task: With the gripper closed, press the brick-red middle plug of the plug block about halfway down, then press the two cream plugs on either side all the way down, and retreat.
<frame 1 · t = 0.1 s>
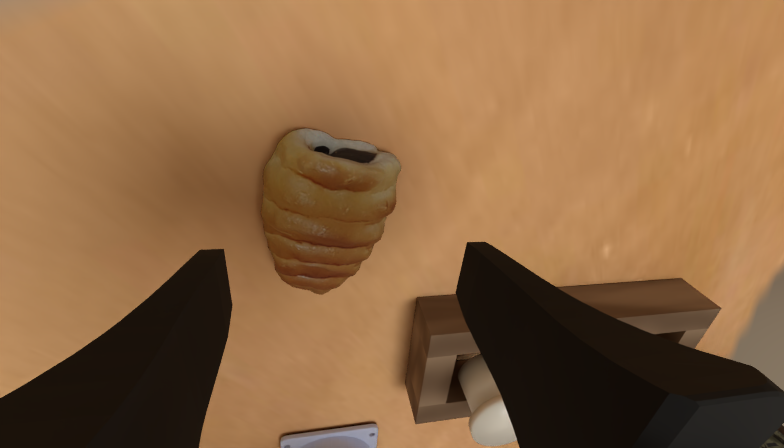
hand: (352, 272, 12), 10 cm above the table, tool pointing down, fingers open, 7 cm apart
cream plug 1: (494, 395, 25), point 5 cm above the table, slide at 0.0 cm
pastry: (329, 197, 22), on the table
plug block: (543, 330, 31), on the table
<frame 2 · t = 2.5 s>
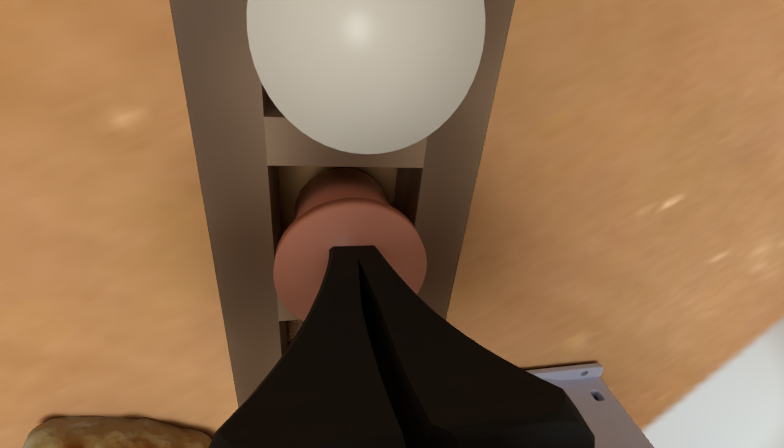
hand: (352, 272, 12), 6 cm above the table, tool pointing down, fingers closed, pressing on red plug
cream plug 2: (360, 32, 9), point 5 cm above the table, slide at 0.0 cm
red plug: (347, 239, 13), point 4 cm above the table, slide at 1.1 cm, touching gripper
pastry: (125, 438, 22), on the table
plug block: (339, 190, 17), on the table
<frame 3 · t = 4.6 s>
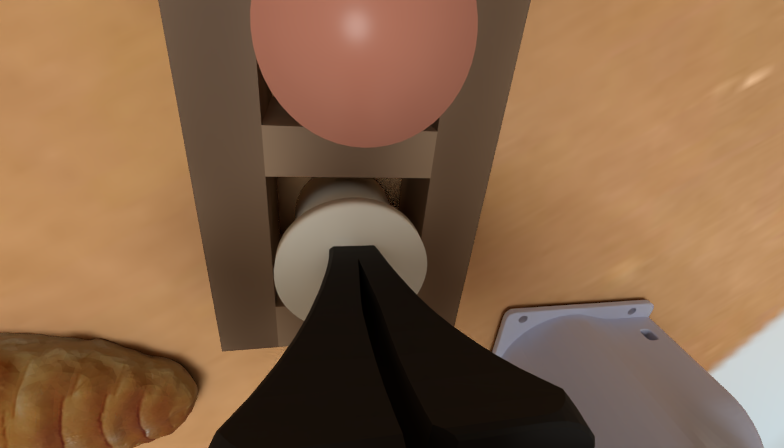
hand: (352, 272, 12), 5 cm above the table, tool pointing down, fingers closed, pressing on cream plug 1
red plug: (358, 31, 9), point 4 cm above the table, slide at 1.3 cm
cream plug 1: (347, 239, 13), point 3 cm above the table, slide at 2.0 cm, touching gripper
pastry: (79, 370, 18), on the table
plug block: (345, 22, 13), on the table
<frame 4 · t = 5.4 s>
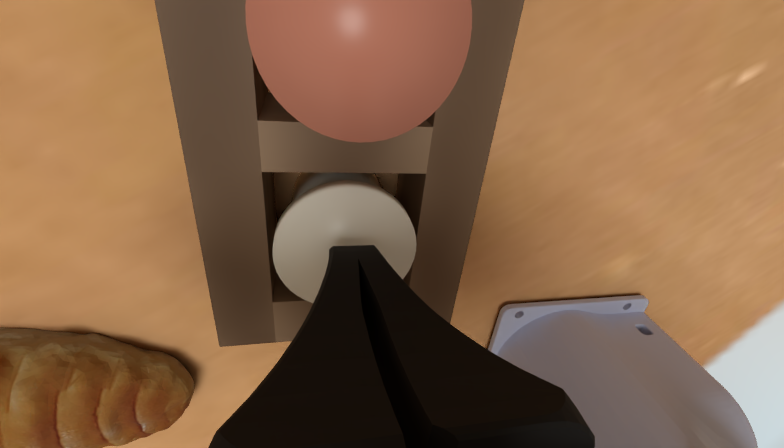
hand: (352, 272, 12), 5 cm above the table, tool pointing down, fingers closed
red plug: (354, 26, 9), point 4 cm above the table, slide at 1.3 cm
cream plug 1: (341, 222, 14), point 2 cm above the table, slide at 2.8 cm
pastry: (75, 365, 18), on the table
plug block: (341, 18, 13), on the table
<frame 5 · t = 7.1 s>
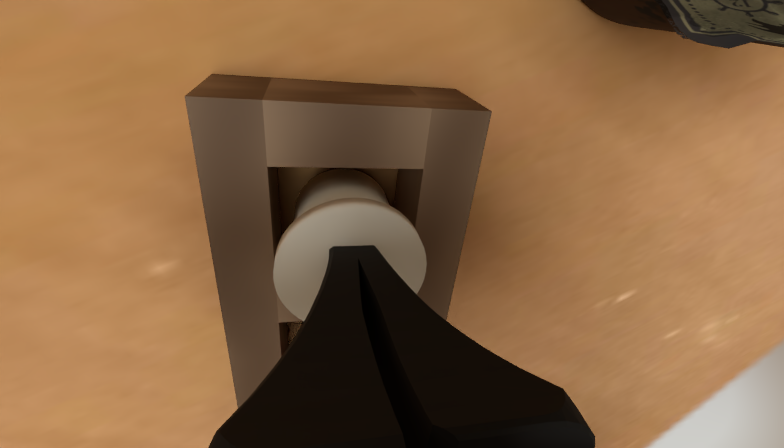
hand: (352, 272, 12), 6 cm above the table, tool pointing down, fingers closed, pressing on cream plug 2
cream plug 2: (346, 239, 13), point 4 cm above the table, slide at 1.2 cm, touching gripper
red plug: (341, 364, 17), point 4 cm above the table, slide at 1.3 cm
plug block: (336, 306, 20), on the table
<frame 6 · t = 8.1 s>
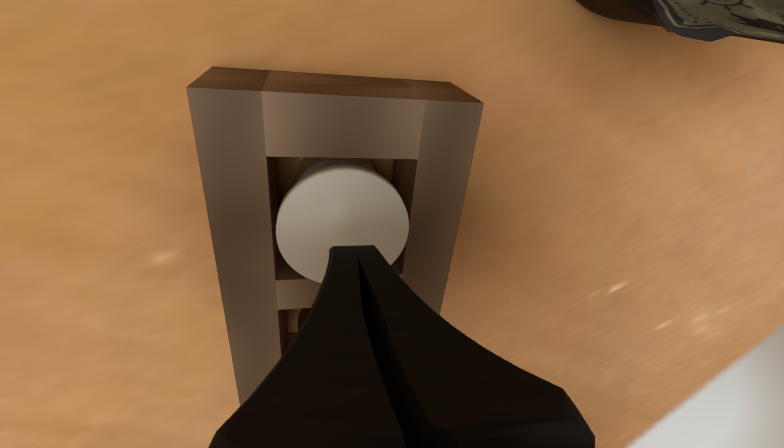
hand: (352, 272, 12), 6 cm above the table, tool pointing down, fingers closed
cream plug 2: (340, 206, 15), point 2 cm above the table, slide at 2.8 cm
red plug: (339, 351, 17), point 4 cm above the table, slide at 1.3 cm
plug block: (333, 296, 20), on the table
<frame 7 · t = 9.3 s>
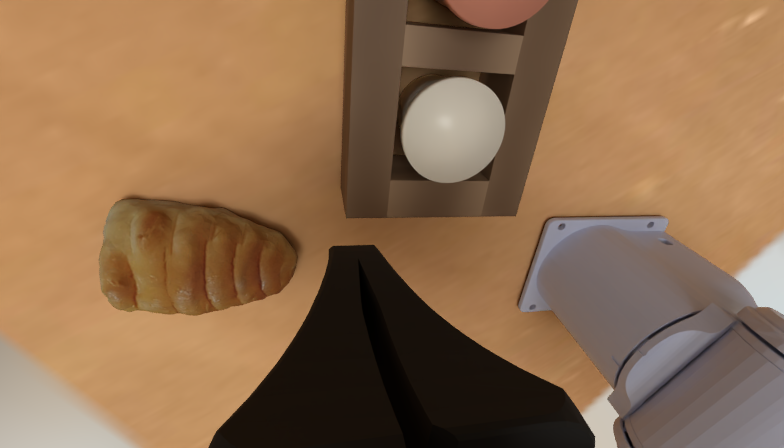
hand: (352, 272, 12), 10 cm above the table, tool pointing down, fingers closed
cream plug 1: (441, 121, 18), point 2 cm above the table, slide at 2.8 cm
pastry: (201, 242, 22), on the table
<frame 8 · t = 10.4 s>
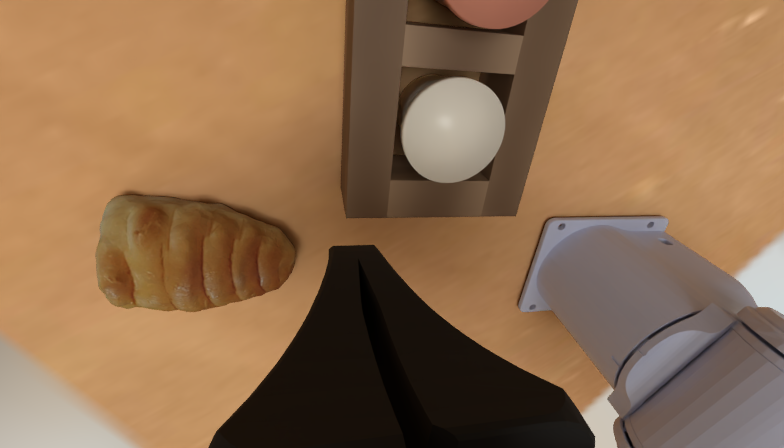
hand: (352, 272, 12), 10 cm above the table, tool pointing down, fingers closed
cream plug 1: (441, 121, 18), point 2 cm above the table, slide at 2.8 cm
pastry: (199, 238, 22), on the table
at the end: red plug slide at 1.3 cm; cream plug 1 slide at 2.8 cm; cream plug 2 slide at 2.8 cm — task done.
